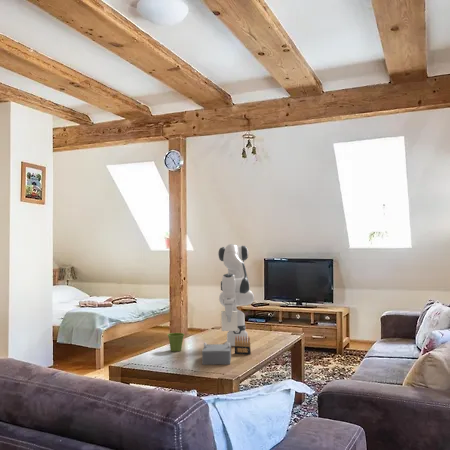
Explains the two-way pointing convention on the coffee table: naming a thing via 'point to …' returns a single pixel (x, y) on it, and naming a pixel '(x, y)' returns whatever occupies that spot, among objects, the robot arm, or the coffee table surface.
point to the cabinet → (216, 354)
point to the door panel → (229, 325)
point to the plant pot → (175, 341)
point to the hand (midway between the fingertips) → (229, 321)
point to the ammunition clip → (242, 346)
